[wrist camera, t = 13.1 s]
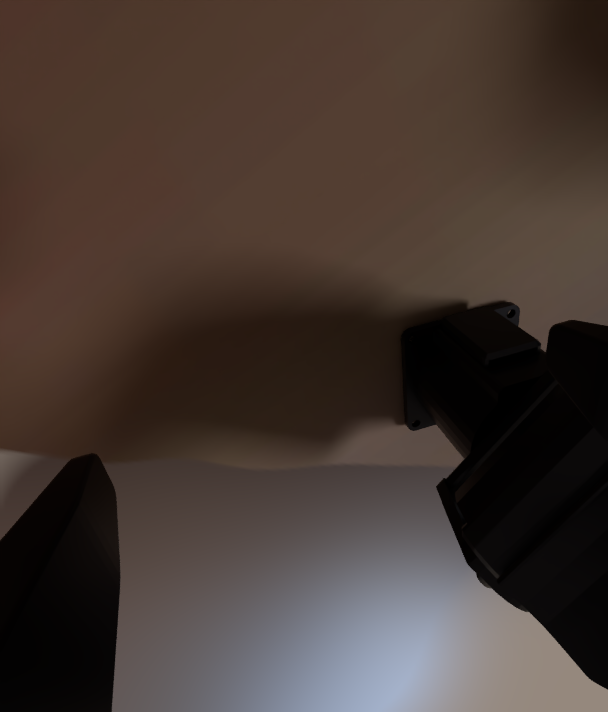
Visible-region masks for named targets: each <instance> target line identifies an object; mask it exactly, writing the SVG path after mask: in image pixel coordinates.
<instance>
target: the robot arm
mask: <svg viewBox="0 0 608 712" xmlns="http://www.w3.org/2000/svg"><path fill="white" fill-rule="evenodd" d="M510 310H511V311H510ZM509 311H510V313H509V314H507V313H508V312H509ZM519 314H520V309H519V307H518V306H517V305H515V304H514V303H511V302H507V303H503V304H499V305H495V306H491V307H489V306H485V307H481V308H477V309H474V310H470V311H466V312H462V313H459V314H455V315H451V316H447V317H445V318H443V319H442V320H439V321H435V322H431V323H427V324H423V325H420V326H416V327H412V328H409V329H407V330H406V331H405V332H404V333H403V334H402V338H401V344H402V367H403V389H404V412H405V424H406V425H407V427H408V428H409V429H410V430H412V431H415V430H419V429H422V428H426V427H429V426H432V425H437V426H438V427H439V428H440V430H441V431H442V432H443V433H444V434H445V436H446V437H447V438H448V439H449V441H450V442H451V443H452V444H453V446H454V447H455V448H456V449H457V451H458V452H459V453H460V454H461V456H462V457H463V458H464V460H463V461H462V462H461V463H460V464H459V465H458V467H457V468H456V469H455V470H454V471H453V472H452V473H451V474H450V475H449V476H448V477H447V478H446V479H445V478H443V480H442V481H441V482H440V483H439V484H438V485H437V486H436V488H437V490H438V493H439V495H440V498H441V500H442V504H443V506H444V509H445V511H446V514H447V516H448V518H449V521H450V523H451V526H452V528H453V531H454V533H455V535H456V538H457V540H458V543H459V545H460V548H461V550H462V553H463V555H464V557H465V560H466V562H467V564H468V565H469V566H470V567H471V568H472V569H473V570H474V571H475V572H476V575H477V578H478V580H479V581H480V582H481V583H482V584H483V585H484V586H485V587H487V588H492V589H493V590H494V591H495V592H496V593H498V594H499V595H500V596H502V598H504V599H505V600H506V601H507V602H509V603H510V604H512V605H513V606H515V607H516V608H518V609H521V610H523V611H525V612H530V613H531V614H532V615H533V616H534V617H535V618H536V619H537V620H538V621H539V622H540V623H541V624H542V625H543V626H544V627H545V628H546V630H547V631H548V632H549V633H550V634H551V635H552V636H553V637H554V638H555V640H556V641H557V642H558V643H559V644H560V645H561V646H562V648H563V649H564V650H565V651H566V652H567V653H568V655H569V656H570V657H571V658H572V659H573V661H574V662H575V663H576V664H577V665H578V666H579V667H580V669H581V670H582V671H583V672H584V673H585V675H586V676H587V677H589V679H591V680H592V681H593V682H595V683H597V684H599V685H600V686H602V687H604V688H606V689H608V326H605V325H599V324H593V323H588V322H582V321H577V320H568V321H565V322H561V323H558V324H555V325H553V326H552V327H551V329H550V330H549V336H548V343H547V350H546V352H544V351H543V350H542V349H540V348H541V343H540V342H539V341H538V340H537V339H535V338H534V337H532V336H531V335H529V334H528V333H526V332H525V331H524V330H522V329H521V328H519V327H518V324H519ZM412 336H415V337H414V339H413V340H411V341H409V339H410V338H411V337H412ZM415 420H416V421H415ZM414 421H415V422H414ZM413 422H414V423H413ZM119 595H120V555H119V537H118V519H117V501H116V493H115V489H114V486H113V484H112V482H111V480H110V478H109V476H108V474H107V472H106V470H105V468H104V466H103V464H102V462H101V460H100V458H99V457H98V455H97V454H94V453H90V454H87V455H83V456H79V457H76V458H73V459H71V460H70V461H69V462H68V463H67V464H66V465H65V466H64V467H63V469H62V470H61V471H60V472H59V473H58V474H57V475H56V477H55V478H54V479H53V480H52V481H51V482H50V484H49V485H48V486H47V487H46V488H45V489H44V491H43V492H42V493H41V494H40V495H39V496H38V498H37V499H36V500H35V501H34V502H33V504H31V506H30V507H29V508H28V509H27V510H26V511H25V512H24V514H23V515H22V516H21V517H20V518H19V519H18V521H17V522H16V523H15V524H14V525H13V526H12V528H11V529H10V530H9V531H8V532H7V534H5V536H4V537H3V538H2V539H1V540H0V712H112V698H113V684H114V683H113V682H114V669H115V654H116V639H117V625H118V610H119Z"/></svg>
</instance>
